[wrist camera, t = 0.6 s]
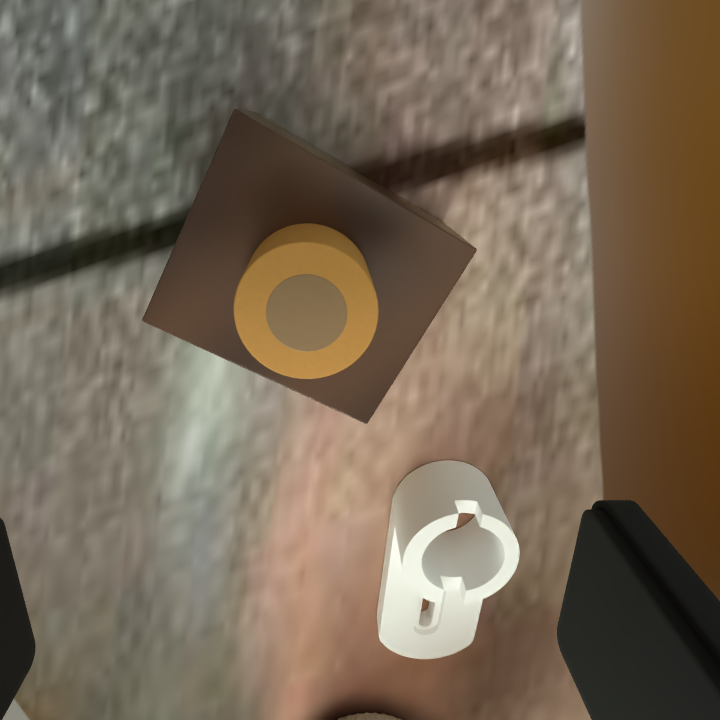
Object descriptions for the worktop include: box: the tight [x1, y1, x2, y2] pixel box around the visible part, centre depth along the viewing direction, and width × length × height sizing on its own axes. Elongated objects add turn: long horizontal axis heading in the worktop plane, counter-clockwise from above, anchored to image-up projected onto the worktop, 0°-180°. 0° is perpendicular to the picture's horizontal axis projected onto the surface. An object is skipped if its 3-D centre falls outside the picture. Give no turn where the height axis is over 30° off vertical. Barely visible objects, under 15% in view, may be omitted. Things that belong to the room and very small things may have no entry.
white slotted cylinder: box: [377, 460, 519, 659], centre depth 46 cm, size 20×9×7 cm, turn 175°
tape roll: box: [234, 223, 379, 379], centre depth 27 cm, size 7×7×5 cm
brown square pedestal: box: [142, 109, 477, 424], centre depth 34 cm, size 14×12×9 cm
